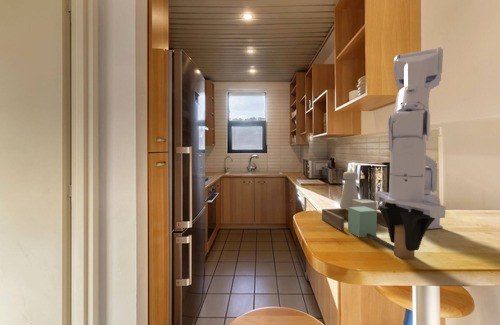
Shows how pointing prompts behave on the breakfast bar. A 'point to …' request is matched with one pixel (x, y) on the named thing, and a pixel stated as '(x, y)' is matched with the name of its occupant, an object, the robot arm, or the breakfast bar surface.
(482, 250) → the breakfast bar surface
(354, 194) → the salt shaker
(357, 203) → the grey block
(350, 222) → the tethered block
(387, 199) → the robot arm
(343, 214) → the walnut rack
